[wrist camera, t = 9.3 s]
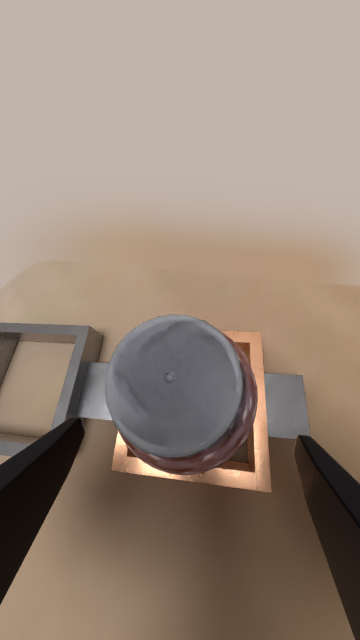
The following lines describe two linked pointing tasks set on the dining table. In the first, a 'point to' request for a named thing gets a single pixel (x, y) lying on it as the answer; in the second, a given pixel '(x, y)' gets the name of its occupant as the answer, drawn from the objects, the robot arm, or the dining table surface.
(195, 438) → the supplement bottle
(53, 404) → the dining table surface
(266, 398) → the socket rail
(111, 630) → the dining table surface
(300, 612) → the dining table surface
